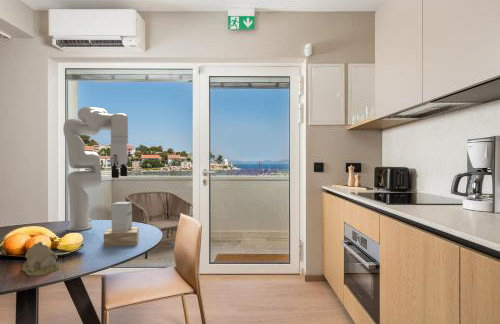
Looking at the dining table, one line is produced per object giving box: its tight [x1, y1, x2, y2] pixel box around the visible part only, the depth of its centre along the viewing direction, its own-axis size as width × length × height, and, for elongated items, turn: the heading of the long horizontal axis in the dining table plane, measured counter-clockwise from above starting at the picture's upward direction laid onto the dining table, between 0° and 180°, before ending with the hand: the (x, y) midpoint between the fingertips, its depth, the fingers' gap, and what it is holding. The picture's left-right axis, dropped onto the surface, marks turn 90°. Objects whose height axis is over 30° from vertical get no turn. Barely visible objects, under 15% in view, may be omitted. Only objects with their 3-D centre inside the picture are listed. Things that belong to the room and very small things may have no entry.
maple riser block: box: [103, 226, 140, 248], centre depth 165 cm, size 14×14×6 cm
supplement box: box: [110, 201, 133, 231], centre depth 165 cm, size 7×7×13 cm
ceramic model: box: [22, 241, 61, 277], centre depth 126 cm, size 14×11×10 cm
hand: (119, 177), depth 165 cm, fingers open, 9 cm apart
